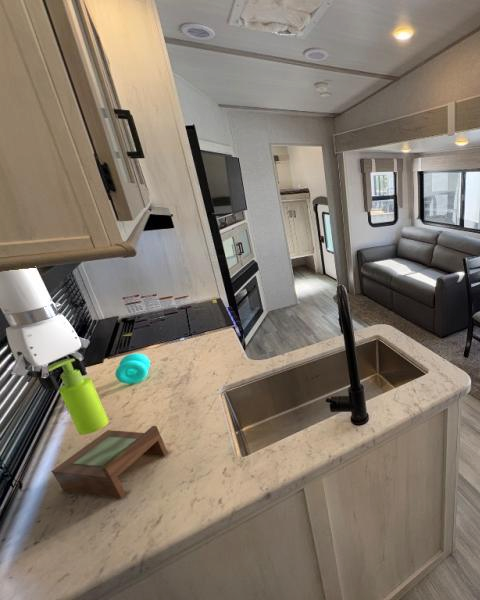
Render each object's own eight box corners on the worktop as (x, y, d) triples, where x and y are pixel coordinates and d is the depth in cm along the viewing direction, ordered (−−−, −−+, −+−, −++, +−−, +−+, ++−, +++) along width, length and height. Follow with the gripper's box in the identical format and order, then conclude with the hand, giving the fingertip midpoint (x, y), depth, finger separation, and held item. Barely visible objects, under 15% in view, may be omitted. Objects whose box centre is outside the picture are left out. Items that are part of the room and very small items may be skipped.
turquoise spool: (153, 369, 136) (146, 349, 132) (150, 380, 128) (142, 359, 124) (125, 377, 131) (116, 356, 128) (120, 388, 123) (110, 367, 119)
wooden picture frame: (63, 491, 80) (45, 462, 77) (117, 448, 93) (103, 421, 90) (121, 498, 78) (105, 468, 74) (168, 453, 90) (156, 425, 87)
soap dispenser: (68, 435, 79) (34, 367, 73) (98, 417, 85) (70, 353, 79) (84, 438, 77) (52, 369, 71) (114, 420, 84) (87, 355, 78)
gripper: (63, 301, 78) (91, 362, 85) (-34, 331, 62) (10, 404, 69) (87, 301, 77) (114, 363, 84) (-5, 332, 61) (37, 406, 68)
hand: (67, 381), depth 76 cm, fingers closed on soap dispenser, 5 cm apart
